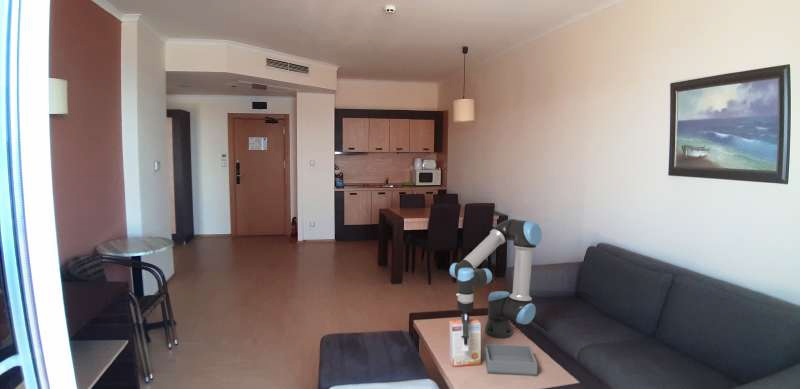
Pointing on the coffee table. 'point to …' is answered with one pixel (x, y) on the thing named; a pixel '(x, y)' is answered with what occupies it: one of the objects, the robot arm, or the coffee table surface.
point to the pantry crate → (510, 360)
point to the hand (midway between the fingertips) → (464, 344)
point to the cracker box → (474, 343)
